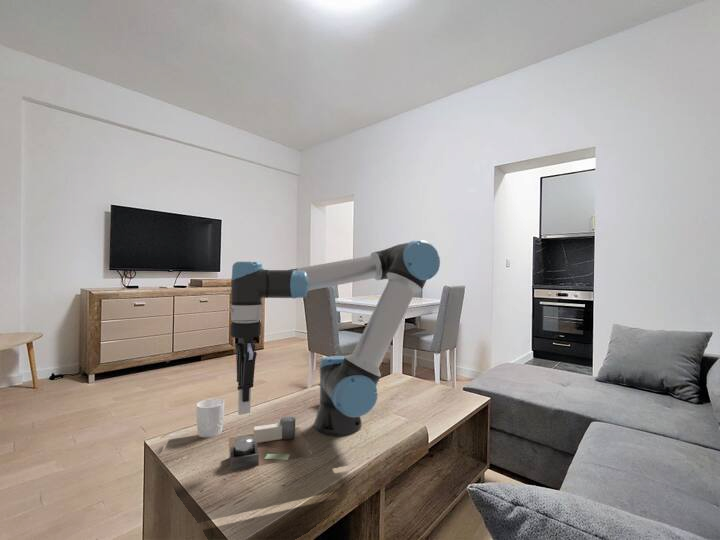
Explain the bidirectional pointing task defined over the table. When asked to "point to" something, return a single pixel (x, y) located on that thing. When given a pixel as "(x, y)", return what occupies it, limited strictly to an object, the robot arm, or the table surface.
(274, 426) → the peg lever
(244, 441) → the button
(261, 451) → the board
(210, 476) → the table surface
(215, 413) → the white cup
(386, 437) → the table surface
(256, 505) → the table surface
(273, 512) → the table surface
